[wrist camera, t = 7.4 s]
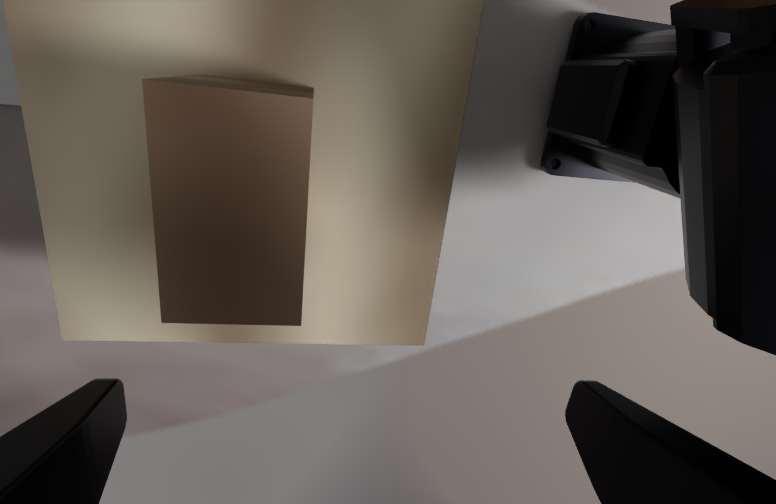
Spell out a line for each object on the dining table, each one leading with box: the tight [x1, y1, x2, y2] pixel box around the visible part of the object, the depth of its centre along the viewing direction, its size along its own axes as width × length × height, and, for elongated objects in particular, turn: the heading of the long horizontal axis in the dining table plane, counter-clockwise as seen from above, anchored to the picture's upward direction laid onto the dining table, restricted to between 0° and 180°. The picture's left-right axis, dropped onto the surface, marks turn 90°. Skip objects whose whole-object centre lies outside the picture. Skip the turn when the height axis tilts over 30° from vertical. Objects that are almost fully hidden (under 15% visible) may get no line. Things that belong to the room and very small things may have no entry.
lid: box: [2, 0, 484, 345], centre depth 12 cm, size 12×12×6 cm
